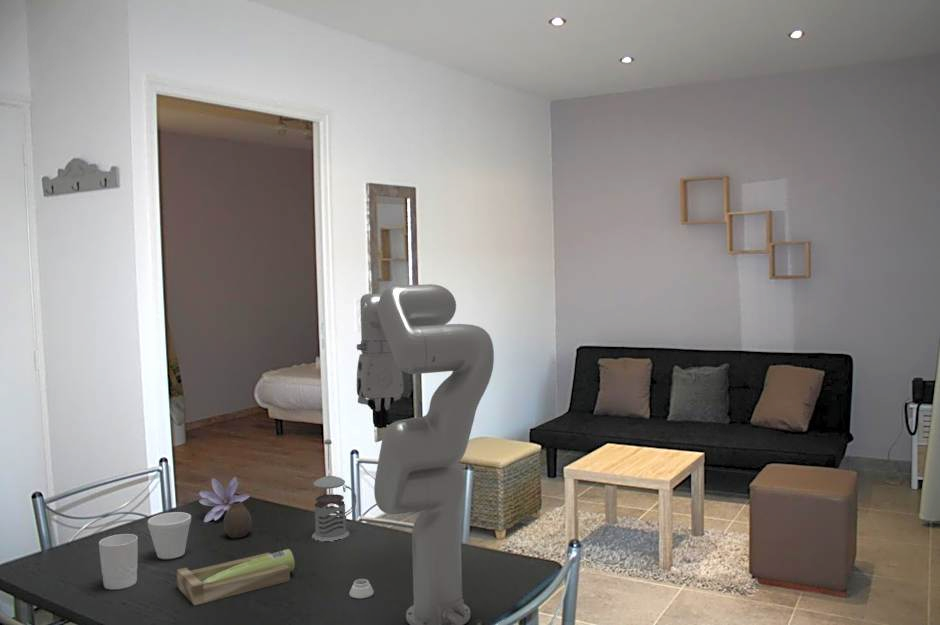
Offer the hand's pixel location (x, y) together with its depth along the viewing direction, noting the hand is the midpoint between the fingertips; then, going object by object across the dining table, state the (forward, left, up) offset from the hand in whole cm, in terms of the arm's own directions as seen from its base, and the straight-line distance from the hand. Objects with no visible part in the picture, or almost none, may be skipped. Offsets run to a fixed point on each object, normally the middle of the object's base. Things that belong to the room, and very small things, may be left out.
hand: (380, 426), depth 189 cm
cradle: (+10, +31, -32) cm, 46 cm away
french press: (+26, 0, -32) cm, 41 cm away
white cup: (+26, +52, -32) cm, 67 cm away
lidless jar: (-12, +12, -32) cm, 37 cm away
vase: (+41, +20, -32) cm, 56 cm away
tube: (+9, +19, -29) cm, 36 cm away
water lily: (+58, +18, -32) cm, 69 cm away
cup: (+37, +38, -32) cm, 62 cm away
